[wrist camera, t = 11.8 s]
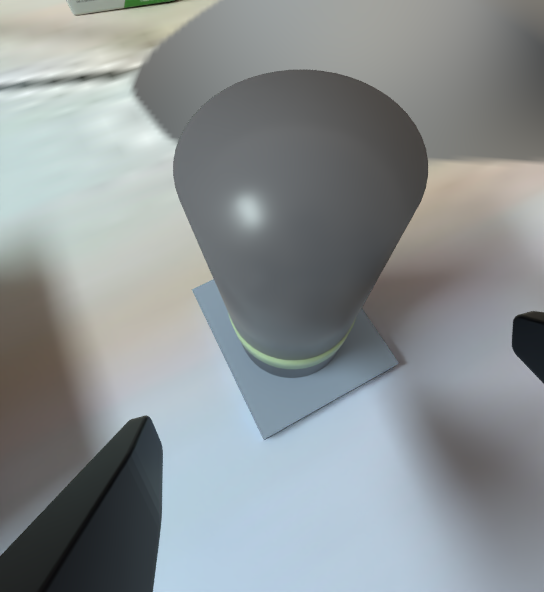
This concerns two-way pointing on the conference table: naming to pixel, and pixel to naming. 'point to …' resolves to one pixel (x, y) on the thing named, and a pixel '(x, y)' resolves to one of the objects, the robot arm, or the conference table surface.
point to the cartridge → (298, 206)
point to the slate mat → (294, 391)
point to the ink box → (105, 5)
